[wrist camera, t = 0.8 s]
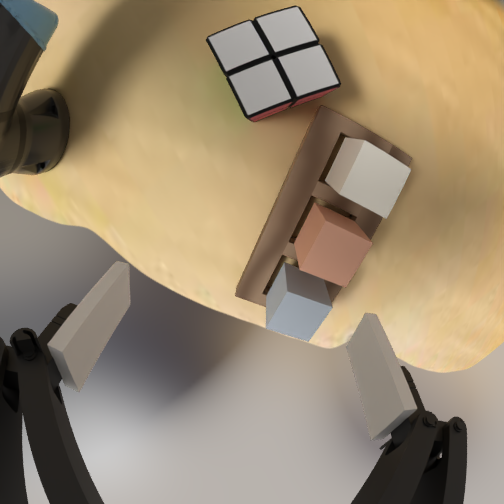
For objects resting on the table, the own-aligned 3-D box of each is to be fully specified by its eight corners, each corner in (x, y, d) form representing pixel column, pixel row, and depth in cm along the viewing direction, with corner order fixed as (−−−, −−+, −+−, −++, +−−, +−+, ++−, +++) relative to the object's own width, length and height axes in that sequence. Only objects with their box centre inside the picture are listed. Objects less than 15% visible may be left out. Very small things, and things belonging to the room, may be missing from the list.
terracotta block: (294, 243, 35) (299, 269, 29) (314, 202, 33) (325, 220, 26) (333, 259, 36) (345, 287, 29) (354, 221, 33) (372, 243, 27)
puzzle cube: (323, 96, 30) (343, 85, 21) (252, 123, 32) (246, 120, 23) (290, 33, 26) (298, 3, 17) (220, 59, 28) (203, 36, 19)
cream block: (324, 180, 31) (339, 194, 25) (345, 137, 29) (364, 140, 23) (365, 201, 32) (386, 219, 26) (385, 160, 30) (411, 169, 23)
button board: (236, 287, 43) (234, 296, 40) (318, 106, 30) (321, 105, 28) (314, 314, 44) (317, 324, 42) (404, 155, 32) (412, 158, 30)
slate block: (266, 296, 39) (265, 328, 33) (284, 262, 36) (287, 291, 30) (303, 309, 40) (308, 341, 33) (322, 277, 37) (332, 307, 31)
